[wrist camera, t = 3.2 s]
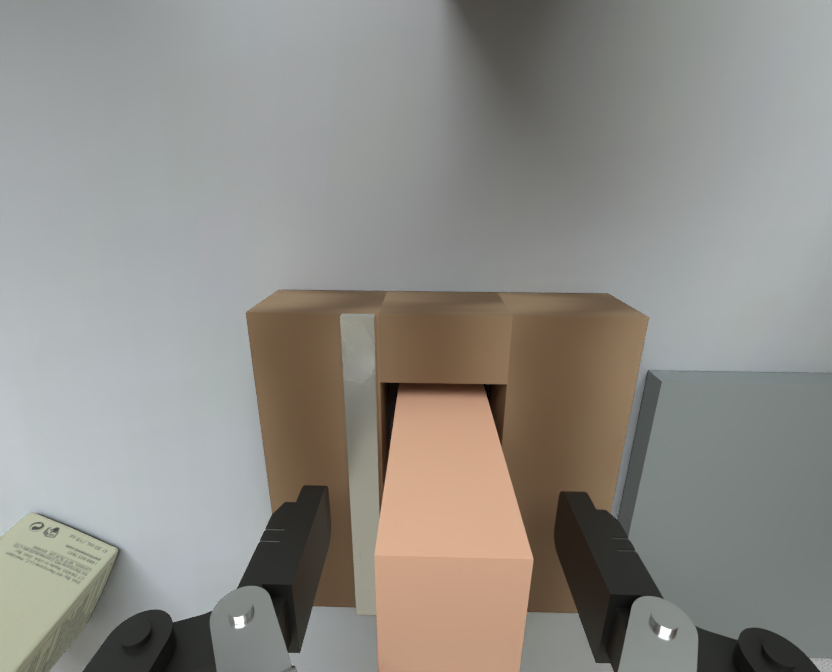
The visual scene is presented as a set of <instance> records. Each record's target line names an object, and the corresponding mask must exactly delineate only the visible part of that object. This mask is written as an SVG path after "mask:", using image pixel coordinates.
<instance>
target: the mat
mask: <svg viewBox="0 0 832 672" xmlns="http://www.w3.org/2000/svg"><path fill="white" fill-rule="evenodd" d="M618 521H619V522H620V524H621V525H622V527H623V529H624V531H625V532H626V534H627V536H628V539H629V540H630V541H631V543H632V544H633V546H634V548H635V551H636V552H637V553H638V555H639V557H640V558H641V560H642V562H643V563H644V565H645V567H646V569H647V570H648V572H649V574H650V576H651V577H652V579H653V581H654V583H655V584H656V586H657V588H658V589H659V591H660V593H661V595H662V596H663V598H664V599H665V600H667V601H669V602H671V603H673V604H674V605H676V606H677V607H679V608H680V609H681V610H682V611H683V612H684V613H685V614H686V615H687V616H688V617H689V618H690V619H691V621H692V622H693V624H694V625H695V626H697V627H699V628H701V629H704V630H707V631H710V632H713V633H716V634H720V635H723V636H726V637H729V638H732V639H736V640H738V638H739V635H740V633H741V632H742V631H743V630H744V629H747V628H753V627H755V628H762V629H766V630H769V631H772V632H774V633H776V634H779V635H780V636H782V637H784V638H786V639H787V640H789V641H790V642H792V643H793V644H794V645H796V646H797V647H798V648H799V649H800V650H801V651H803V652H804V653H805V654H806V656H807V657H808V658H832V373H786V372H719V371H653V370H648V374H647V379H646V384H645V389H644V394H643V399H642V404H641V409H640V414H639V419H638V423H637V428H636V433H635V438H634V443H633V448H632V453H631V458H630V463H629V468H628V473H627V477H626V482H625V487H624V492H623V497H622V502H621V507H620V512H619V517H618Z"/></svg>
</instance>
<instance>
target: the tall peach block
mask: <svg viewBox="0 0 832 672" xmlns="http://www.w3.org/2000/svg"><path fill="white" fill-rule="evenodd" d="M374 559H375V588H376V618H377V647H378V672H519V670H520V662H521V654H522V647H523V639H524V631H525V623H526V615H527V607H528V599H529V592H530V584H531V576H532V568H533V560H534V559H533V555H532V552H531V549H530V545H529V542H528V538H527V535H526V531H525V528H524V524H523V521H522V517H521V514H520V510H519V507H518V503H517V500H516V496H515V493H514V489H513V486H512V482H511V479H510V475H509V472H508V468H507V465H506V461H505V458H504V454H503V451H502V447H501V444H500V440H499V437H498V433H497V430H496V426H495V423H494V419H493V416H492V412H491V409H490V405H489V402H488V399H487V395H486V392H485V388H484V385H483V384H450V383H399V387H398V394H397V401H396V408H395V415H394V422H393V429H392V436H391V443H390V450H389V457H388V464H387V471H386V478H385V485H384V492H383V499H382V506H381V513H380V520H379V527H378V534H377V540H376V547H375V554H374Z"/></svg>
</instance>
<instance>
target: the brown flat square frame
mask: <svg viewBox="0 0 832 672" xmlns="http://www.w3.org/2000/svg"><path fill="white" fill-rule="evenodd" d="M246 318H247V325H248V333H249V340H250V348H251V356H252V363H253V371H254V379H255V386H256V394H257V401H258V409H259V417H260V424H261V432H262V439H263V447H264V455H265V462H266V470H267V478H268V485H269V493H270V500H271V508H272V514H273V513H274V512H275V511H276V510H277V509H278V508H279V507H280V506H281V505H282V504H283V503H284V502H296V501H297V498H298V496H299V493H300V491H301V489H302V487H303V486H304V485H324V486H328V489H329V501H330V514H331V538H330V544H329V548H328V552H327V555H326V559H325V563H324V566H323V570H322V574H321V577H320V581H319V585H318V588H317V592H316V596H315V599H314V603H313V606H328V607H356V615H376V588H375V559H374V554H375V547H376V540H377V534H378V527H379V520H380V513H381V506H382V499H383V492H384V485H385V478H386V471H387V464H388V457H389V450H390V424H389V383H450V384H491V385H490V399H489V405H490V409H491V412H492V416H493V419H494V423H495V426H496V430H497V433H498V437H499V440H500V444H501V447H502V451H503V454H504V458H505V461H506V465H507V468H508V472H509V475H510V479H511V482H512V486H513V489H514V493H515V496H516V500H517V503H518V507H519V510H520V514H521V517H522V521H523V524H524V528H525V531H526V535H527V538H528V542H529V545H530V549H531V552H532V555H533V559H534V560H533V568H532V576H531V584H530V592H529V599H528V607H527V612H553V613H578V611H577V608H576V605H575V603H574V600H573V597H572V594H571V591H570V589H569V586H568V583H567V580H566V577H565V575H564V572H563V569H562V566H561V563H560V561H559V558H558V555H557V552H556V548H555V543H554V526H555V519H556V512H557V505H558V499H559V494H560V492H561V491H577V492H587V493H588V495H589V497H590V498H591V500H592V502H593V504H594V506H595V508H596V509H597V510H607V511H608V512H609V513H610V514H611V509H612V504H613V499H614V494H615V489H616V484H617V479H618V473H619V468H620V463H621V458H622V453H623V448H624V443H625V438H626V433H627V427H628V422H629V417H630V412H631V407H632V402H633V397H634V392H635V387H636V381H637V376H638V371H639V366H640V361H641V356H642V351H643V346H644V340H645V335H646V330H647V325H648V320H649V317H647V316H646V315H644V314H642V313H641V312H639V311H637V310H635V309H634V308H632V307H630V306H628V305H627V304H625V303H623V302H622V301H620V300H618V299H616V298H615V297H613V296H611V295H610V294H602V293H514V292H427V291H339V290H278V291H276V292H275V293H273V294H272V295H270V296H269V297H267V298H266V299H265V300H263V301H262V302H260V303H259V304H257V305H256V306H254V307H253V308H251V309H250V310H249V311H247V312H246Z"/></svg>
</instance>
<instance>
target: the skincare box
mask: <svg viewBox="0 0 832 672" xmlns="http://www.w3.org/2000/svg"><path fill="white" fill-rule="evenodd" d="M117 554H118V549H117V548H116V547H113V546H111V545H109V544H106V543H104V542H102V541H100V540H98V539H95V538H93V537H91V536H89V535H86V534H84V533H82V532H79V531H77V530H75V529H73V528H71V527H68V526H65V525H63V524H61V523H58V522H56V521H53V520H51V519H48V518H46V517H43V516H41V515H38V514H36V513H33V512H32V513H29V514H28V515H27V516H25V517H24V518H23V519H22V520H21V521H19V522H18V523H17V524H16V525H15V526H14V527H12V528H11V529H10V530H9V531H8V532H6V533H5V534H4V535H3V536H2V537H0V672H49V671H50V670H51V669H52V667H53V666H54V665H55V663H56V662H57V661H58V660H59V658H60V657H61V656H62V654H63V653H64V652H65V651H66V649H67V648H68V647H69V645H70V644H71V643H72V641H73V640H74V639H75V638H76V636H77V635H78V634H79V632H80V631H81V630H82V629H83V627H84V626H85V625H86V623H87V621H88V620H89V618H90V616H91V614H92V612H93V610H94V608H95V606H96V604H97V602H98V599H99V597H100V595H101V593H102V590H103V588H104V586H105V584H106V581H107V579H108V576H109V574H110V572H111V569H112V567H113V564H114V561H115V559H116V556H117Z"/></svg>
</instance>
